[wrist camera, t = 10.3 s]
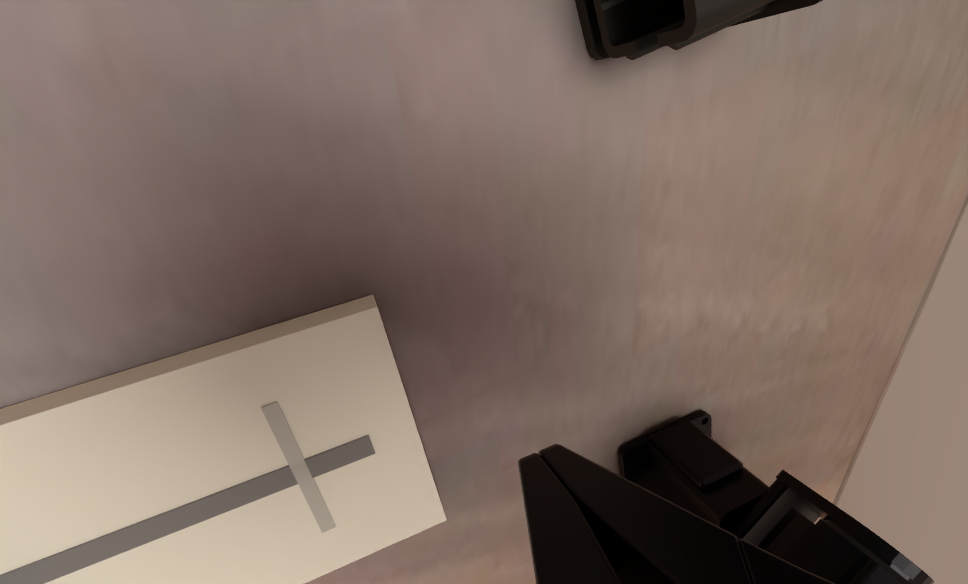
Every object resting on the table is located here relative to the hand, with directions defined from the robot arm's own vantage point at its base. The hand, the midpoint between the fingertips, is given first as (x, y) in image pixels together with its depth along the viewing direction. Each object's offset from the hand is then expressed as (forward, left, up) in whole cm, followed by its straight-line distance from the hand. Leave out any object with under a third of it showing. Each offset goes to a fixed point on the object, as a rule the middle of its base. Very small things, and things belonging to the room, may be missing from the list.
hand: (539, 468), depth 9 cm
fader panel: (-6, +14, -12) cm, 19 cm away
